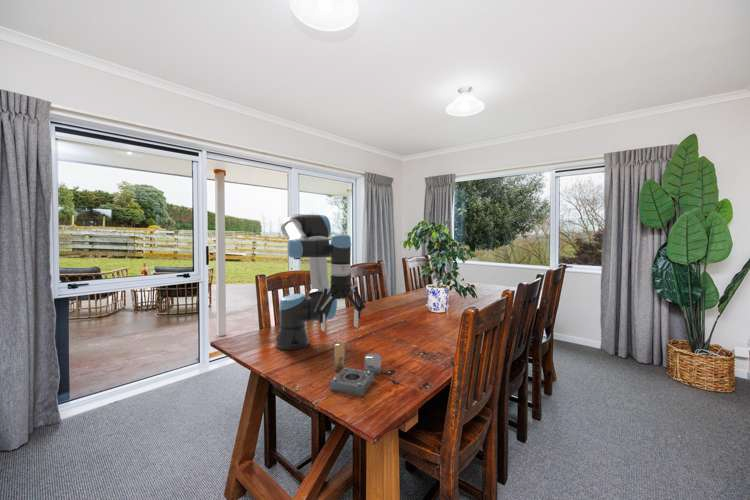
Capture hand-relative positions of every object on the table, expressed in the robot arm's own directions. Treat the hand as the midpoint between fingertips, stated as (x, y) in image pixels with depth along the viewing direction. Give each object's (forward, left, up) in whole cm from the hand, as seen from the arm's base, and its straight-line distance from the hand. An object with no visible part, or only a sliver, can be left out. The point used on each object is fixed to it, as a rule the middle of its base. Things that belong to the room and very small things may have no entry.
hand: (339, 328), depth 126 cm
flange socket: (+10, -10, -16) cm, 21 cm away
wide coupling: (+13, +3, -16) cm, 21 cm away
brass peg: (0, 0, -16) cm, 16 cm away
